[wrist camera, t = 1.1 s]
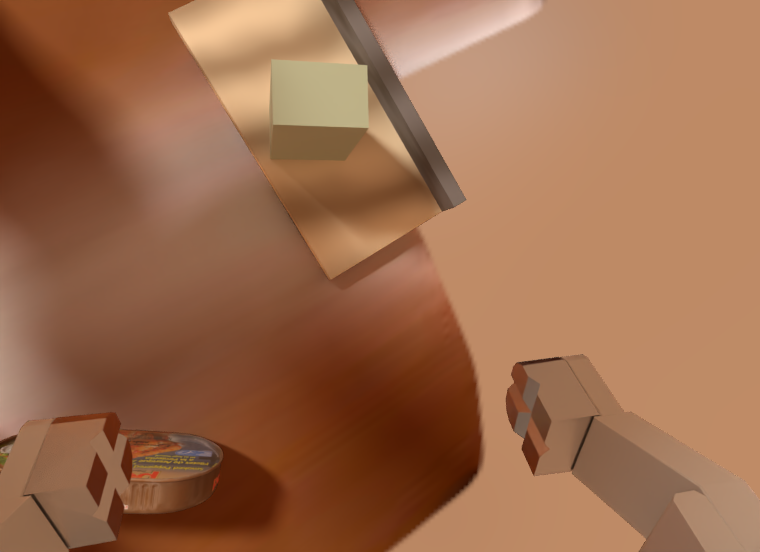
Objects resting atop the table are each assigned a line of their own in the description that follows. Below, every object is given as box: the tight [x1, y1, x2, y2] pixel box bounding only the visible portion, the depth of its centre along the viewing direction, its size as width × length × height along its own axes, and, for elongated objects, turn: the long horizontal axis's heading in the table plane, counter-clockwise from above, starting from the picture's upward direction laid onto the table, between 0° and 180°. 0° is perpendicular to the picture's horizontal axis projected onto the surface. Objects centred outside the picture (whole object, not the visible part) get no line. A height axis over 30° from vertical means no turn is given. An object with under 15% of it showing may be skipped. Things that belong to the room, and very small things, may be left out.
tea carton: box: [269, 59, 369, 161], centre depth 38 cm, size 4×6×10 cm
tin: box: [0, 430, 223, 514], centre depth 38 cm, size 15×3×8 cm, turn 83°
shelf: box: [168, 0, 466, 280], centre depth 43 cm, size 24×13×4 cm, turn 31°
